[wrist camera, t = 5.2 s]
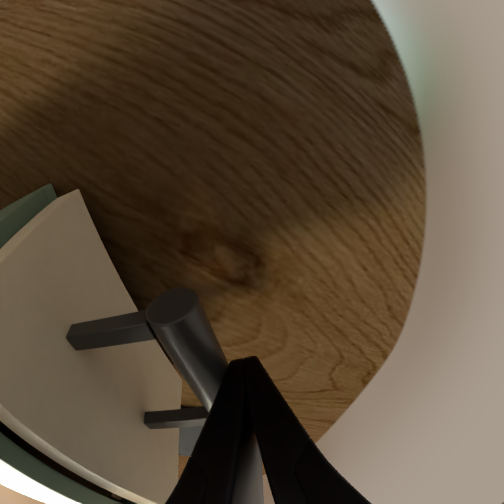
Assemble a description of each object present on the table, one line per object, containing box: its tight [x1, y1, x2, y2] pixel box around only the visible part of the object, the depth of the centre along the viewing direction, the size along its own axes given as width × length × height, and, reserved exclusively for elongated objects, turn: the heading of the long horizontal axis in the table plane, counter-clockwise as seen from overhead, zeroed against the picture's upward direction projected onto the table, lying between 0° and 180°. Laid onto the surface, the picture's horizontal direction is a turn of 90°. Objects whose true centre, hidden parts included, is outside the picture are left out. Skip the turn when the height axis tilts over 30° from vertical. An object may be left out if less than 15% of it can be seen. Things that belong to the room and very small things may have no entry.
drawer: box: [0, 189, 229, 504], centre depth 9 cm, size 18×11×8 cm, turn 103°
